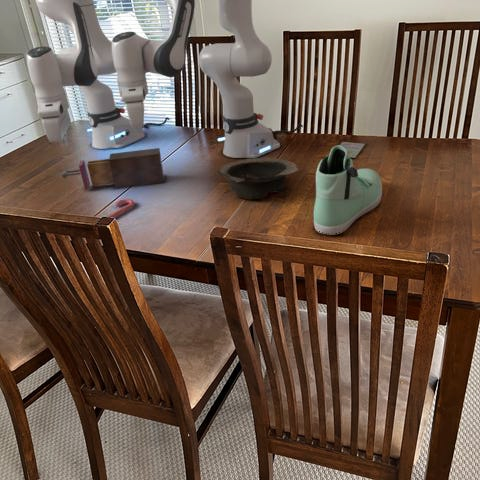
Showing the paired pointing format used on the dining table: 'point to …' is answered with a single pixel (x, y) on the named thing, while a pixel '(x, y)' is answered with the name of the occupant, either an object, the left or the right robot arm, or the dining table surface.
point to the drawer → (93, 173)
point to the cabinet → (136, 168)
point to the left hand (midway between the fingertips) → (64, 146)
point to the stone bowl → (257, 176)
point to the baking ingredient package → (352, 148)
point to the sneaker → (343, 192)
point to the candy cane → (118, 212)
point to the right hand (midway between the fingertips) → (141, 132)
